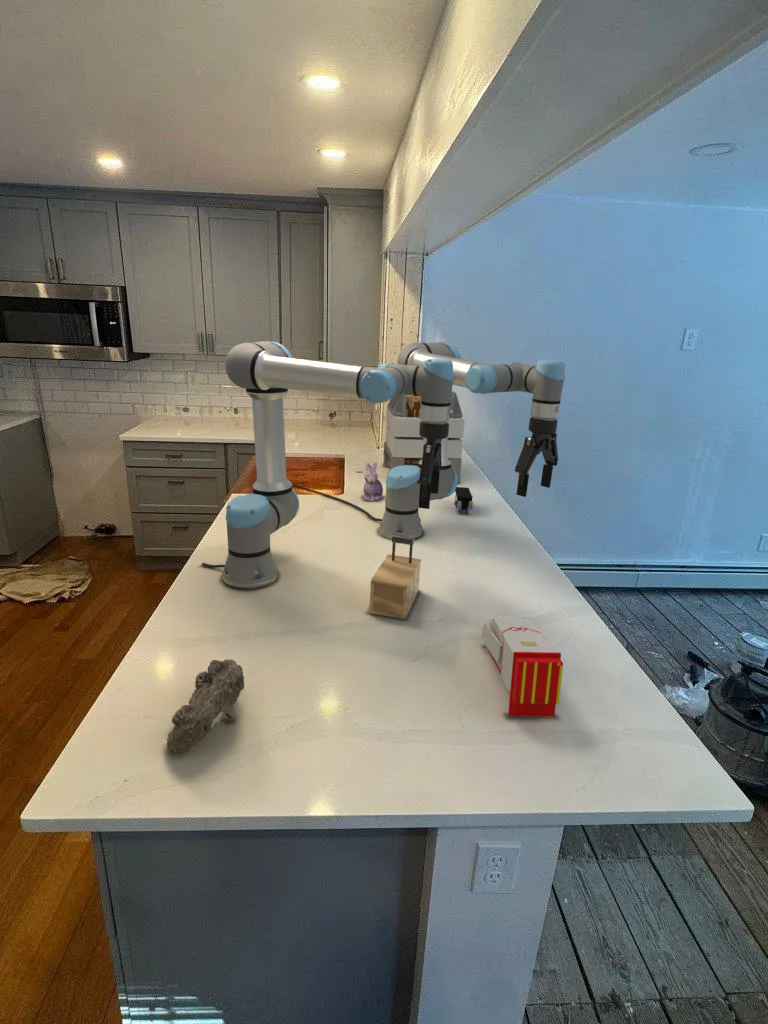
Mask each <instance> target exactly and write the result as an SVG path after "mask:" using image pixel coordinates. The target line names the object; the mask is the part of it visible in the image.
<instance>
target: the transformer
mask: <svg viewBox="0 0 768 1024" xmlns="http://www.w3.org/2000/svg"><path fill="white" fill-rule="evenodd" d="M420 410H421V396H408V395H400V396H397V397H395V398H392V399H390V400H389V401H388V404H387V405H386V413H385V414H386V415H385V423H386V428H385V438H384V442H383V466H384V467H388V468H389V471H390V470H391V469H392V468H394V467H397V466H403V465H405V466H408V465H413V466H417V467H418V464H419V461H420V460H421V459H422V457H423V437H421V436H420V435H419V428H420V422H421V421H422V420H421V419H420ZM450 410H452V411H453V412H452V413H450V418H449V421H448V424H449V433H448V445H447V458H448V459H449V461H450V462H451V466H452V467H453V468H454V469H455V471H456V472H455V473H456V474H457V477H458V483H457V484H459V483H461V472H462V461H463V460H462V453H463V442H464V441H463V440H462V439H463V438H464V431H465V430H464V429H465V419H464V418H463V411H462V408H461V405H460V402H459V398H458V395H457V392H455V391H453V390H452V395H451V405H450Z"/></svg>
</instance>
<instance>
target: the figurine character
mask: <svg viewBox="0 0 768 1024" xmlns="http://www.w3.org/2000/svg"><path fill="white" fill-rule="evenodd" d="M454 493H455V495H454V503H453V505H454V506H455V508H456V510H458V513H459V514H462V512H464V511H465V514H469V511H473V507H474V501H473V495H472V493H471V489H470V488H469V487H465V486H464V487H463V486H457V487H456V489H455V491H454Z"/></svg>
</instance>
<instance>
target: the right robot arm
mask: <svg viewBox="0 0 768 1024" xmlns="http://www.w3.org/2000/svg"><path fill="white" fill-rule="evenodd" d="M428 358H435V359H447V360H450V361H452V363H453V385H452V386H457V387H461V388H466V389H468V390H469V391H470V392H471V393H473V394H481V395H485V394H494V393H513V392H522V393H529V394H532V401H531V406H530V407H531V408H530V414H529V415H530V416H531V417H530V418H529V423H528V431H529V432H531V433H532V434H531V437H528V436H526V437H525V438H524V442H523V446H522V449H521V452H520V454H519V456H518V459H517V462H516V465H515V468H514V472H515V473H518V479H517V487H516V496H520V497H523V498H526V497H527V494H528V487H529V479H530V473H529V471H530V469H531V467H532V465H533V464H534V461H535V460H536V458H537V456H538V455H540V454H542V457H543V459H544V462H545V464H543V465H542V466H543V467H542V473H541V478H540V479H541V480H540V486H541V487H544V488H551V483H552V476H553V471H554V467H557V466H558V462H559V454H558V443H557V436H558V433H557V429H558V422H559V421H558V418H559V413H560V411H561V408H560V407H561V401H562V400H561V399H562V394H563V387H564V383H565V378H566V377H565V374H566V363H565V362H564V361H562V360H558V359H538V360H537V363H536V365H532V364H525V363H522V362H507V363H506V364H505V363H504V364H490V363H484V362H478V361H473V360H468V359H463V358H462V356H461V353H460V350H459V349H457V347H456V346H455V345H454V344H452V343H450V342H449V343H448V342H440V341H439V342H411V343H409V344H407V345H405V346H404V347H402V349H401V350H400V351H399V353H398V356H397V359H396V360H397V361H396V364H400V365H411V366H423V364H424V360H425V359H428ZM447 423H448V422H447ZM426 442H427V438H423V446H424V444H426ZM441 445H442V446H441V454H442V465H441V466H443V470H439V471H440V477H439V489H438V494H435V493H431V494H430V501H435V500H436V501H437V500H442V499H445V498H448V497H449V498H450V496H452V495H453V494H454V493H455V489H456V487H458V484H459V483H458V477H457V474H456V473H455V472H456V471H455V469H454V468H453V467H452V466H451V462H450V461H449V459H448V458H447V445H448V437H447V438H445V439H442V443H441ZM423 449H424V448H423ZM421 464H422V459H421V460H420V461H419V464H418V466H413V465H408V466H407V465H403V466H397V467H394V468H392V469H391V470H390V469H389V470H388V472H387V475H386V479H385V504H384V505H385V507H384V508H385V509H384V513H383V515H382V518H376V517H374V516H373V515H372V514H370V513H369V512H368V511H367V510H366V509H363V508H362V507H359V506H358V505H356V504H354V503H351V502H349V501H347V500H345V499H343V498H339V497H337V496H334V495H331V494H327V493H324V492H322V491H321V492H320V491H318V490H314V489H311V488H307V487H304V486H300V485H297V484H294V483H292V487H293V488H294V487H295V488H298V489H301V490H303V491H307V492H309V493H314V494H318V495H321V496H323V497H327V498H330V499H333V500H335V501H338V502H342V503H344V504H346V505H349V506H351V507H352V508H355V509H357V510H359V511H361V512H362V513H364V514H365V515H367V516H368V518H369V519H371V520H373V521H375V522H379V527H378V533H379V534H380V535H381V536H382V537H385V538H387V539H389V540H392V535H393V534H395V535H402V536H409V537H414V540H415V539H418V538H420V537H421V536H422V535H423V525H422V524H421V518H420V515H419V509H420V508H419V494H420V484H417V480H418V481H419V478H420V471H421ZM424 479H425V478H424ZM426 480H427V479H426Z"/></svg>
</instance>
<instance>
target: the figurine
mask: <svg viewBox="0 0 768 1024" xmlns="http://www.w3.org/2000/svg"><path fill="white" fill-rule="evenodd" d="M365 464H366V465H365V466H366V467H365V470H366V471H365V474H364V475H363V476H364V480H365V483H364V485H363V495H362V498H363V500H364V501H368V502H373V501H378V500H381V499H382V498H383V493H384V487H383V483H382V482H381V481H380V480H379V475H378V473H377V468H378V462H377V461H375V462H374V463H373V464H372V465H370V463H369V462H366V463H365Z"/></svg>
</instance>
